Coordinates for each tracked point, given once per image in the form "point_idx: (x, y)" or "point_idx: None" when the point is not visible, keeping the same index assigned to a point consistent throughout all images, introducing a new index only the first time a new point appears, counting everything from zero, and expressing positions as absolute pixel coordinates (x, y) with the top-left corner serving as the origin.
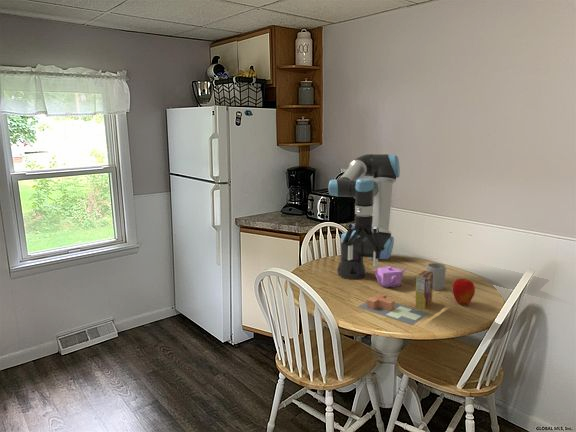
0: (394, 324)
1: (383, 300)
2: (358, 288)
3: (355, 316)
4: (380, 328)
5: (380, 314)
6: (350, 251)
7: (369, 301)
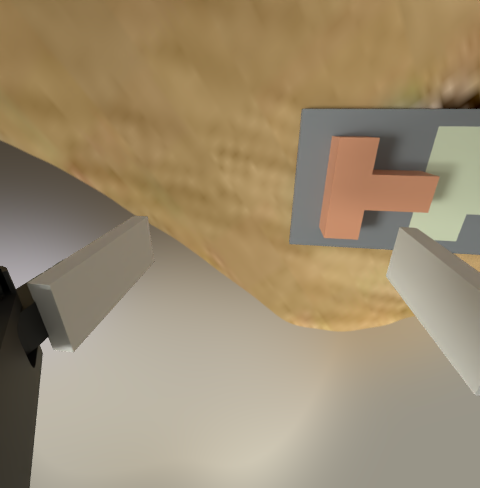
0: None
1: (389, 203)
2: (170, 42)
3: (312, 284)
4: None
5: (387, 247)
6: (111, 286)
7: (335, 236)
